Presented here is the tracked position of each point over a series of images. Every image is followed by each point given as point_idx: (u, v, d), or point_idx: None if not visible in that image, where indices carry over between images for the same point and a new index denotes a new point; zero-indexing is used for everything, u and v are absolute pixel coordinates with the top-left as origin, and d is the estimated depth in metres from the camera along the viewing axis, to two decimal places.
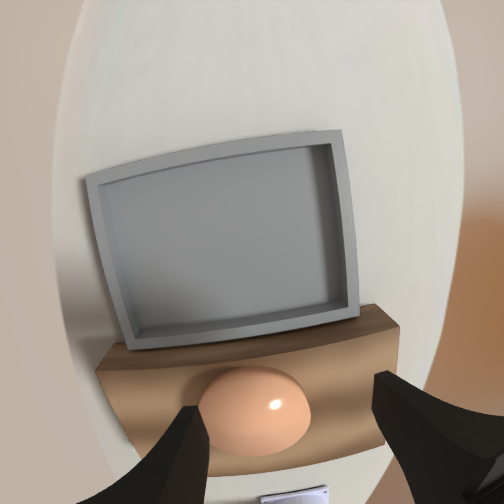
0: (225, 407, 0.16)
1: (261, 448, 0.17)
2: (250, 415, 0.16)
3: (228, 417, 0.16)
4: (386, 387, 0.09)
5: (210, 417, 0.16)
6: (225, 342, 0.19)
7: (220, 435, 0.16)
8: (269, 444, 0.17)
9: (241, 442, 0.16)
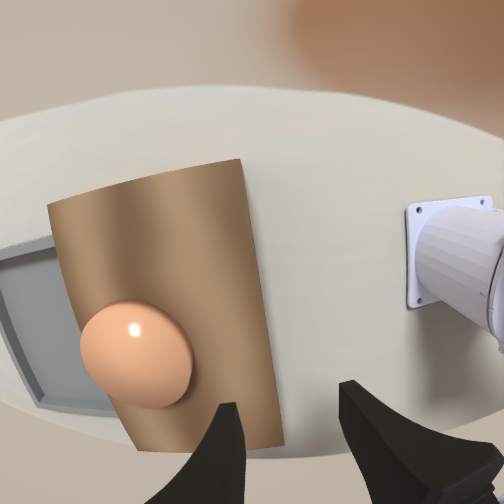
0: (114, 383, 0.16)
1: (172, 361, 0.15)
2: (120, 366, 0.15)
3: (126, 383, 0.16)
4: (348, 398, 0.09)
5: (130, 396, 0.16)
6: None
7: (154, 394, 0.16)
8: (163, 352, 0.15)
9: (162, 378, 0.16)
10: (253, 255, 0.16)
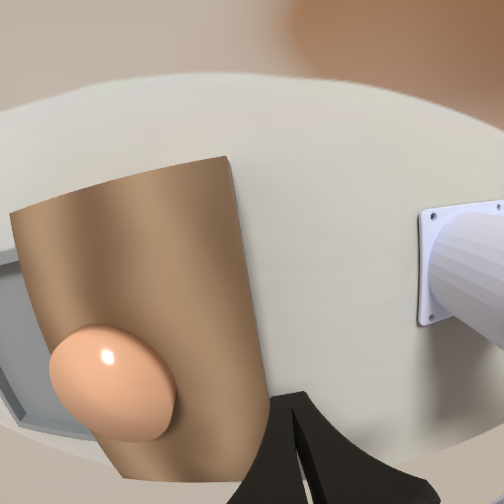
0: (90, 415, 0.13)
1: (150, 396, 0.12)
2: (93, 398, 0.12)
3: (102, 416, 0.13)
4: (292, 410, 0.09)
5: (108, 429, 0.13)
6: None
7: (133, 428, 0.13)
8: (140, 386, 0.12)
9: (141, 413, 0.13)
10: (243, 274, 0.13)
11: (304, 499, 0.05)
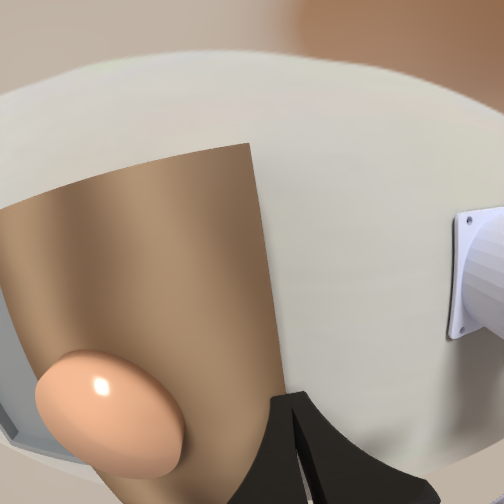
0: (85, 450, 0.10)
1: (154, 435, 0.10)
2: (87, 433, 0.10)
3: (99, 452, 0.10)
4: (292, 410, 0.09)
5: (106, 465, 0.10)
6: None
7: (136, 466, 0.10)
8: (142, 425, 0.10)
9: (144, 452, 0.10)
10: (269, 293, 0.10)
11: (304, 499, 0.05)
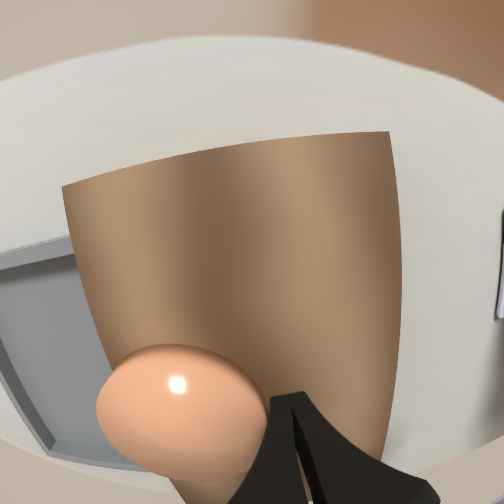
0: (152, 457, 0.10)
1: (244, 430, 0.10)
2: (160, 438, 0.10)
3: (170, 457, 0.10)
4: (292, 410, 0.09)
5: (175, 470, 0.10)
6: None
7: (212, 467, 0.10)
8: (232, 421, 0.10)
9: (227, 450, 0.10)
10: (399, 268, 0.10)
11: (304, 499, 0.05)
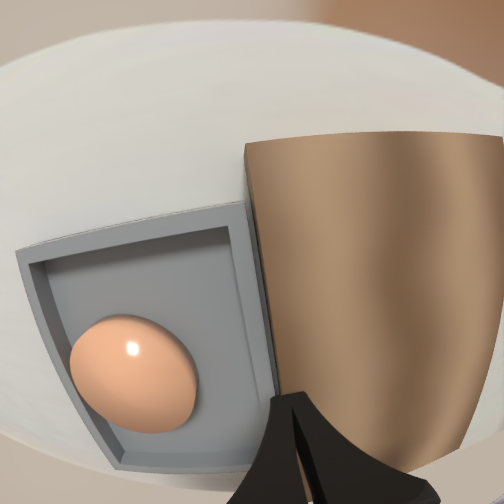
0: None
1: None
2: None
3: None
4: (292, 410, 0.09)
5: None
6: None
7: None
8: None
9: None
10: None
11: (304, 499, 0.05)
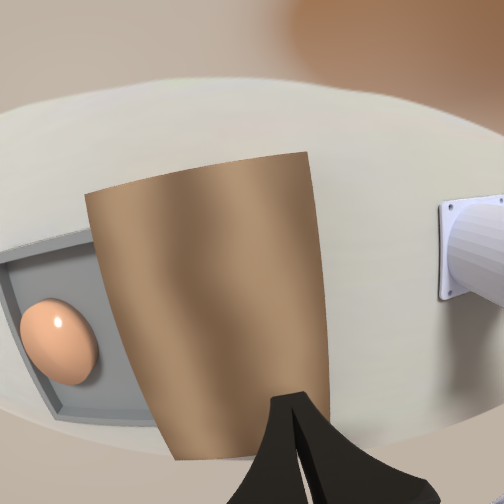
0: None
1: None
2: None
3: None
4: (292, 410, 0.09)
5: None
6: None
7: None
8: None
9: None
10: (318, 248, 0.15)
11: (304, 499, 0.05)
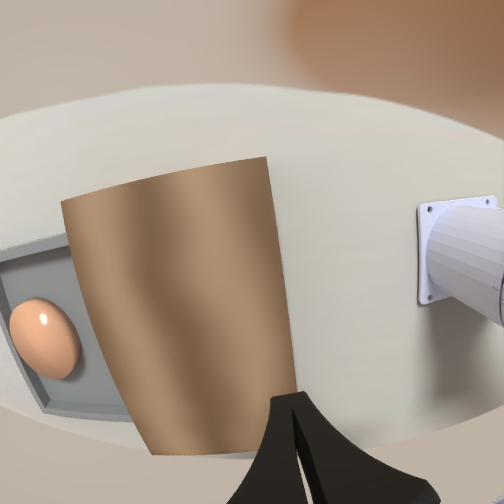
0: None
1: None
2: None
3: None
4: (292, 410, 0.09)
5: None
6: None
7: None
8: None
9: None
10: (278, 253, 0.16)
11: (304, 499, 0.05)
